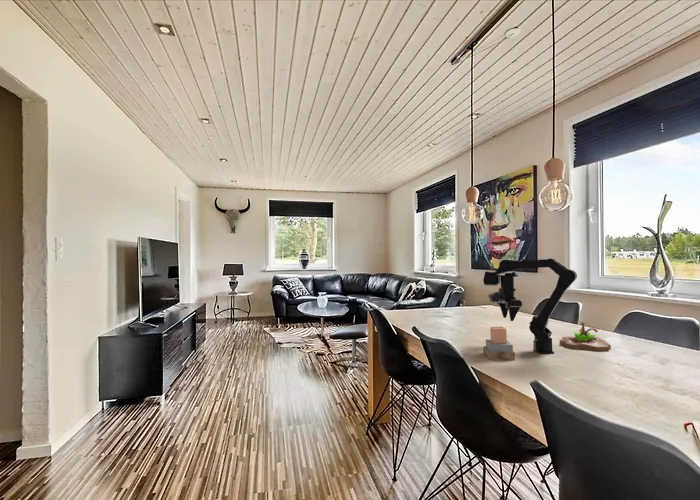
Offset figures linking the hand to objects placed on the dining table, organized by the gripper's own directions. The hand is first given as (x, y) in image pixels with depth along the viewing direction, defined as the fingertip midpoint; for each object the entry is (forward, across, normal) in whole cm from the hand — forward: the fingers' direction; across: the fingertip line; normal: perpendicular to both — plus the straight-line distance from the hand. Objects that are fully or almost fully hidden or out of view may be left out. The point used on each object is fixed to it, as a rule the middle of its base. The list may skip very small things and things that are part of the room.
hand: (508, 319), depth 167 cm
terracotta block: (+7, +16, -10) cm, 20 cm away
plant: (+14, -4, +36) cm, 39 cm away
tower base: (+14, +16, -10) cm, 23 cm away
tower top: (+10, +16, -10) cm, 21 cm away
